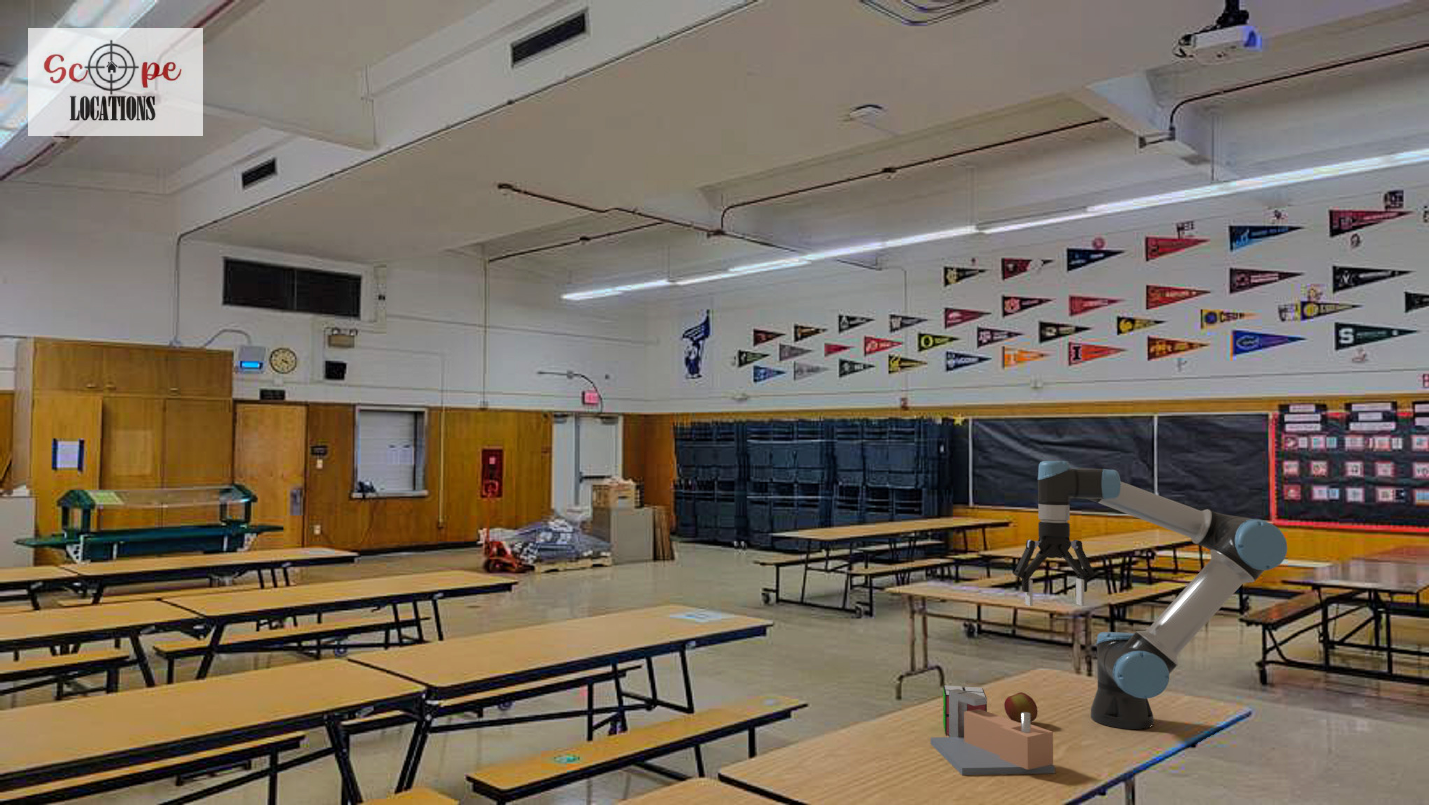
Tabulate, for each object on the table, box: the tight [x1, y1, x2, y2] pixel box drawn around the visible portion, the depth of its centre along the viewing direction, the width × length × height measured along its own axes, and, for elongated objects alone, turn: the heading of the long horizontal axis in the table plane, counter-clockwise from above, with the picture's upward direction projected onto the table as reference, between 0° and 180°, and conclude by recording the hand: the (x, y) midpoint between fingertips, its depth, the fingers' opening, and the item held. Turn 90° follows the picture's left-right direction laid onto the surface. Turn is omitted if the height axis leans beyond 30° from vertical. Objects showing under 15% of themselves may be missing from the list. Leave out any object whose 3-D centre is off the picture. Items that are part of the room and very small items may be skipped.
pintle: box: [1021, 712, 1032, 734], centre depth 201 cm, size 2×2×12 cm
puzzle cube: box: [942, 684, 988, 737], centre depth 227 cm, size 10×10×10 cm
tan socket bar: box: [964, 709, 1054, 770], centre depth 206 cm, size 20×8×7 cm, turn 29°
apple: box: [1003, 692, 1038, 723], centre depth 234 cm, size 8×8×8 cm
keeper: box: [948, 689, 988, 737], centre depth 217 cm, size 4×9×12 cm, turn 29°
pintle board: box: [930, 736, 1056, 776], centre depth 207 cm, size 21×21×2 cm
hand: (1054, 605), depth 229 cm, fingers open, 13 cm apart
